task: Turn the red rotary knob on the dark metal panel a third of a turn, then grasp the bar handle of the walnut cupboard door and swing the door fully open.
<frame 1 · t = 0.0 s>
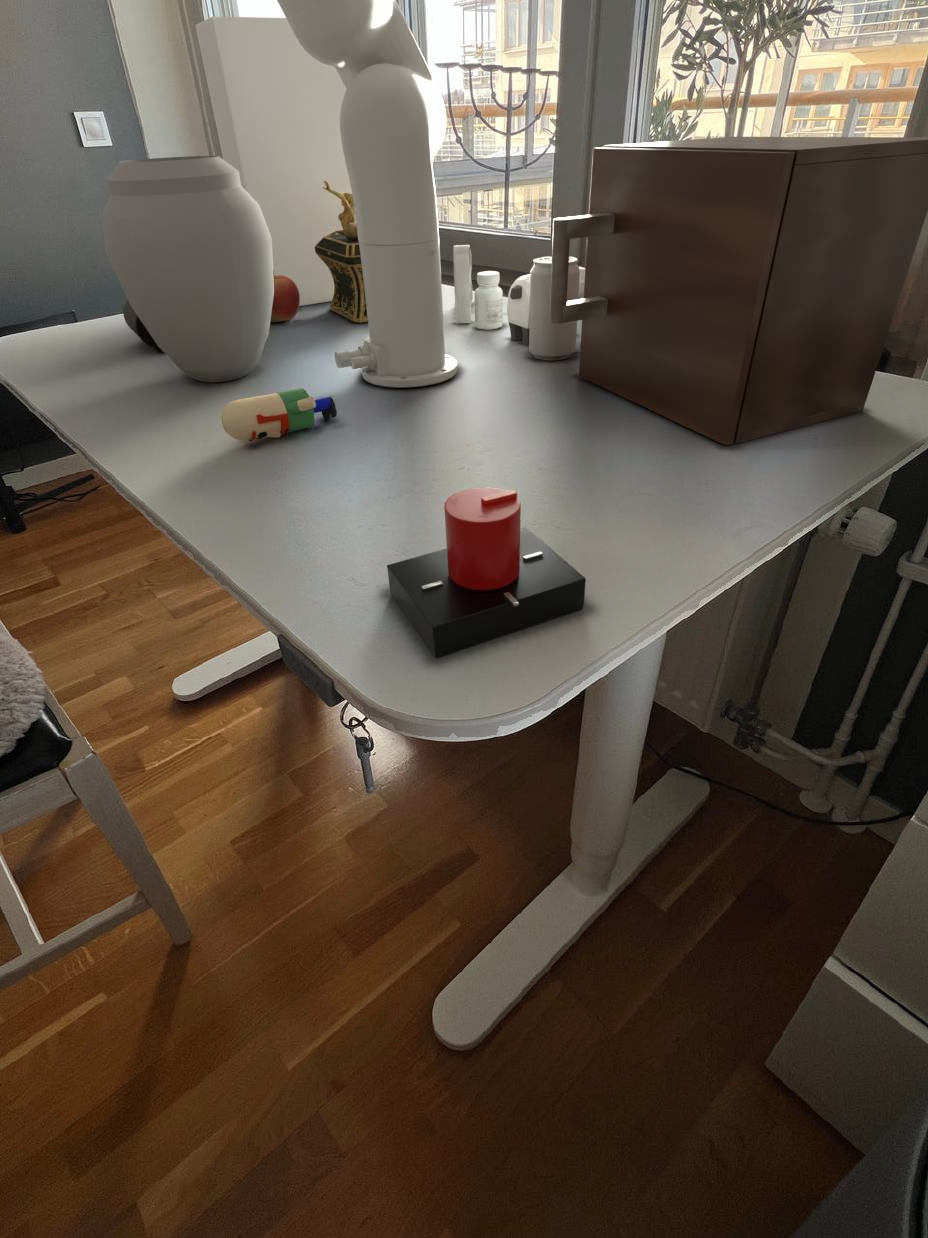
handheld gaming console: (464, 313, 115), on the table
toy figurine: (282, 434, 74), on the table
pill bottle: (489, 327, 107), on the table
decorative box: (367, 316, 116), on the table
cabinet: (713, 391, 79), on the table
end cap: (162, 346, 105), on the table
storage box: (313, 298, 130), on the table
giant panda: (548, 337, 101), on the table
valve panel: (484, 601, 47), on the table
apple: (280, 322, 116), on the table
cabinet door: (633, 295, 67), point 12 cm above the table, hinge at 0.0°
beverage can: (551, 356, 93), on the table
red rotary knob: (483, 536, 44), point 5 cm above the table, hinge at 0.0°
vase: (223, 375, 92), on the table
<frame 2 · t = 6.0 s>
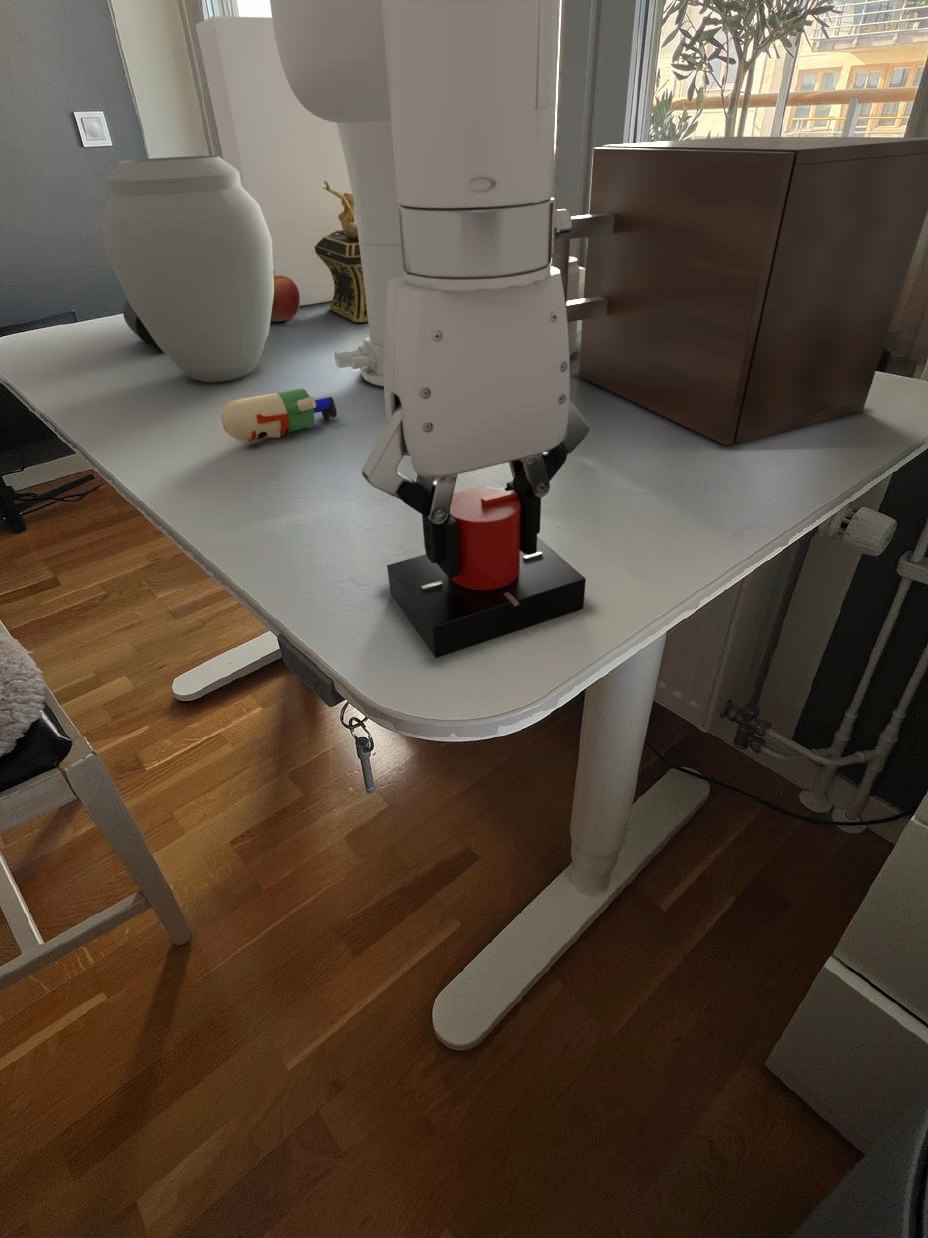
hand: (483, 553, 44), 4 cm above the table, tool pointing down, fingers closed on red rotary knob, 4 cm apart
red rotary knob: (483, 536, 44), point 5 cm above the table, hinge at -0.1°, touching gripper
everything else where it was.
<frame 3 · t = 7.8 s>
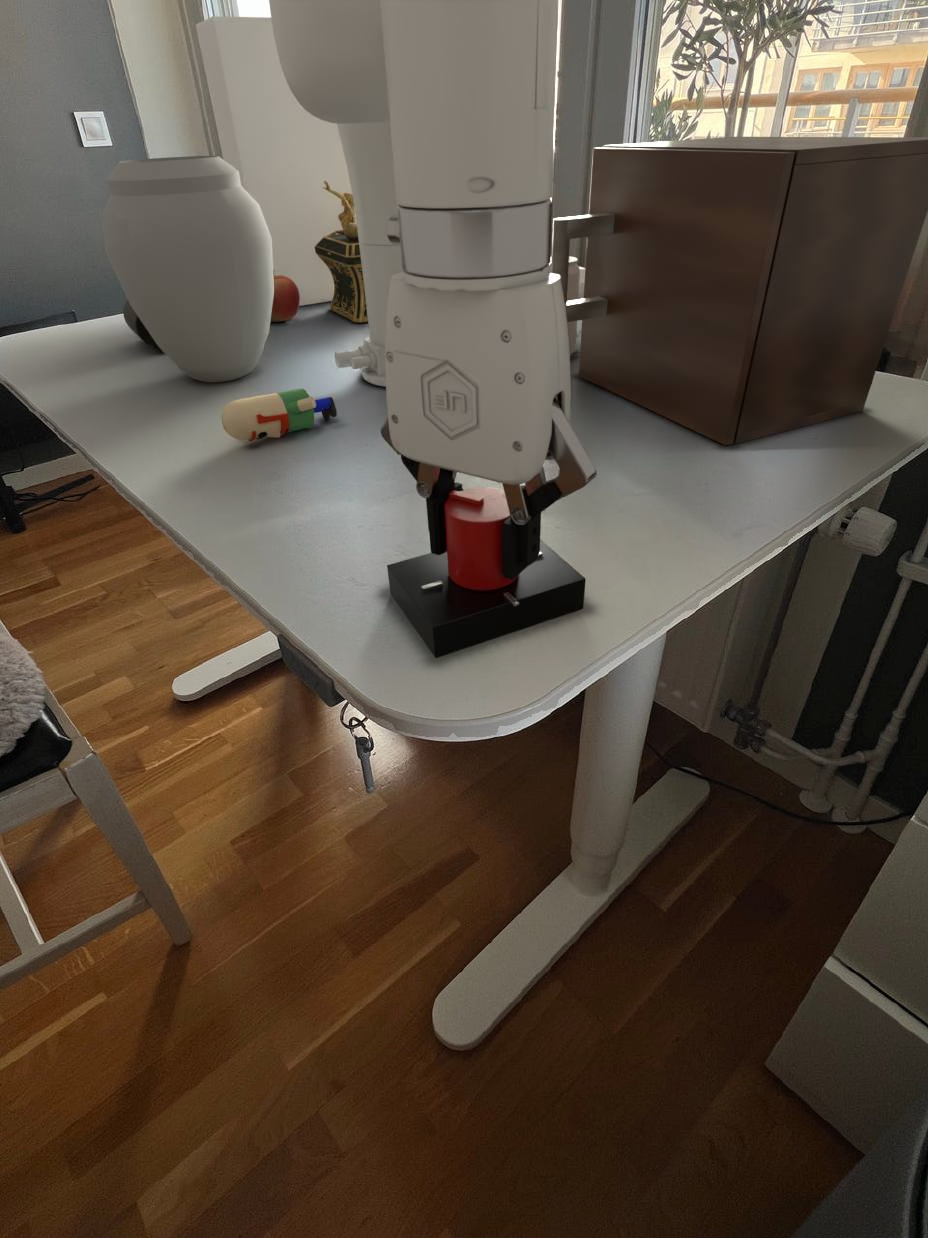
hand: (482, 554, 44), 4 cm above the table, tool pointing down, fingers closed on red rotary knob, 4 cm apart
red rotary knob: (483, 536, 44), point 5 cm above the table, hinge at 121.7°, touching gripper
everything else where it was.
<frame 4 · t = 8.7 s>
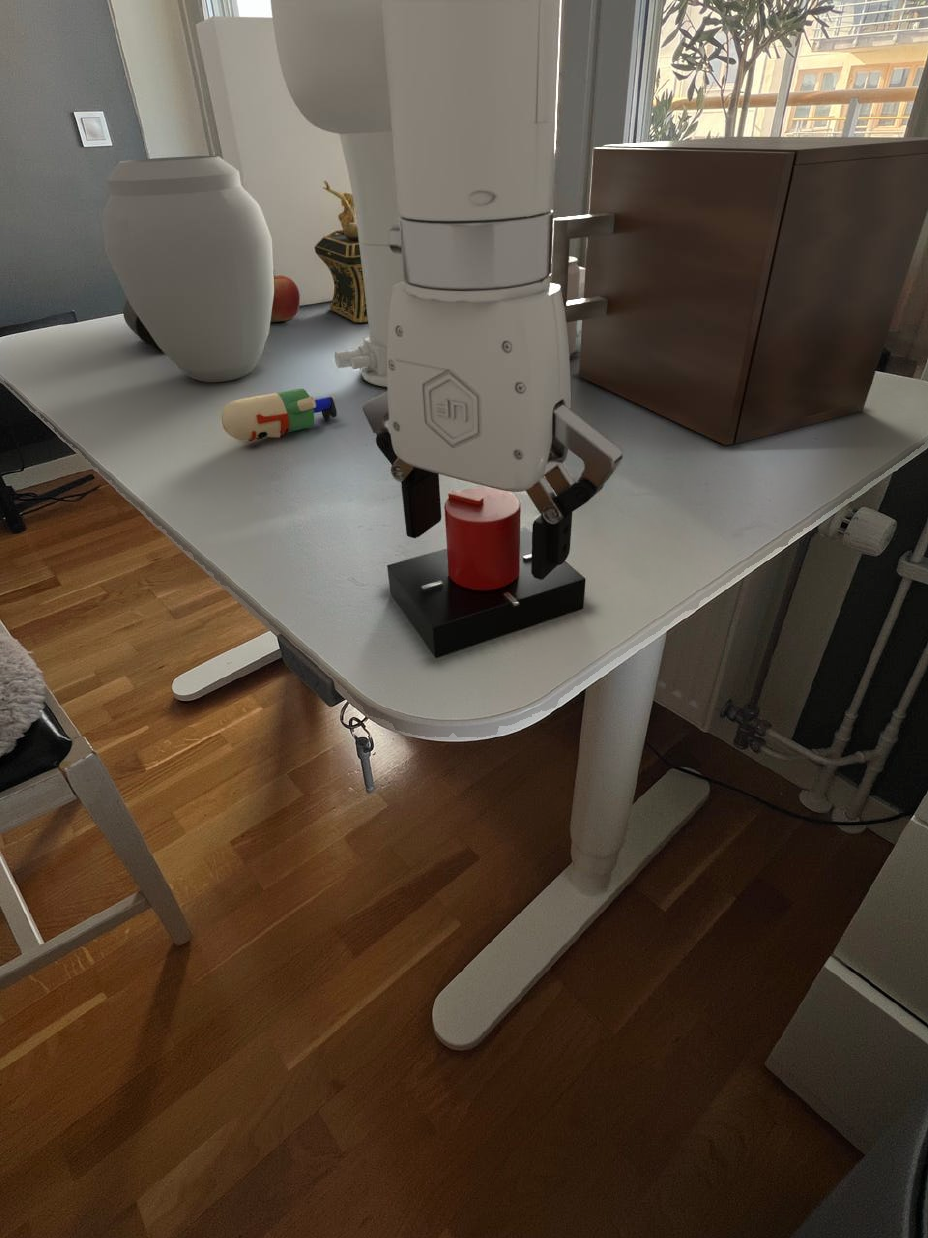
hand: (483, 547, 44), 4 cm above the table, tool pointing down, fingers open, 9 cm apart
red rotary knob: (483, 536, 44), point 5 cm above the table, hinge at 123.5°
everything else where it was.
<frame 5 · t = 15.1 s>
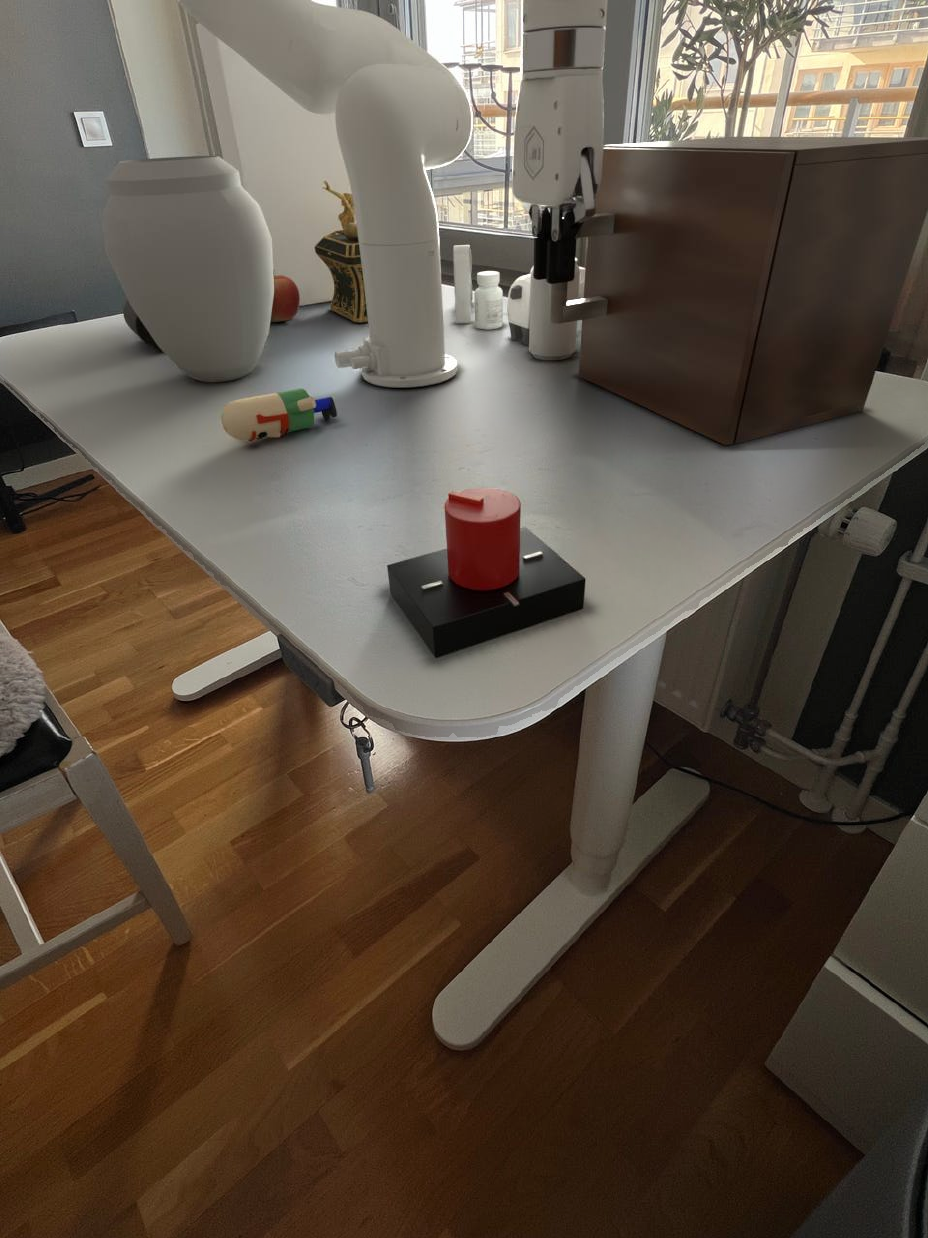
hand: (553, 278, 72), 13 cm above the table, tool pointing down, fingers closed on cabinet door, 2 cm apart
cabinet door: (633, 295, 67), point 12 cm above the table, hinge at 0.0°, touching gripper
everything else where it was.
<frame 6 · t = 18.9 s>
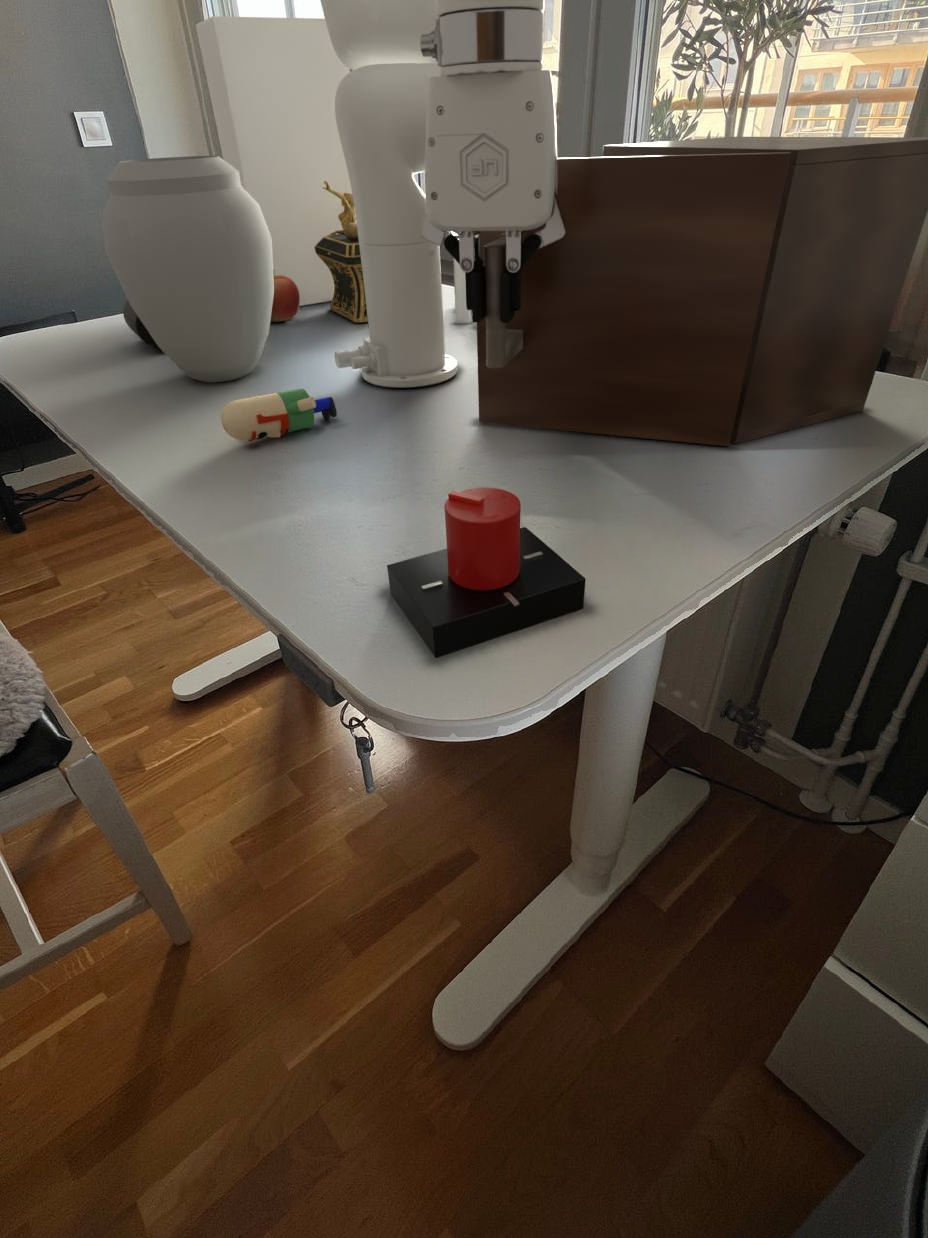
hand: (493, 317, 60), 13 cm above the table, tool pointing down, fingers closed on cabinet door, 2 cm apart
cabinet door: (601, 318, 60), point 12 cm above the table, hinge at 44.2°, touching gripper
everything else where it was.
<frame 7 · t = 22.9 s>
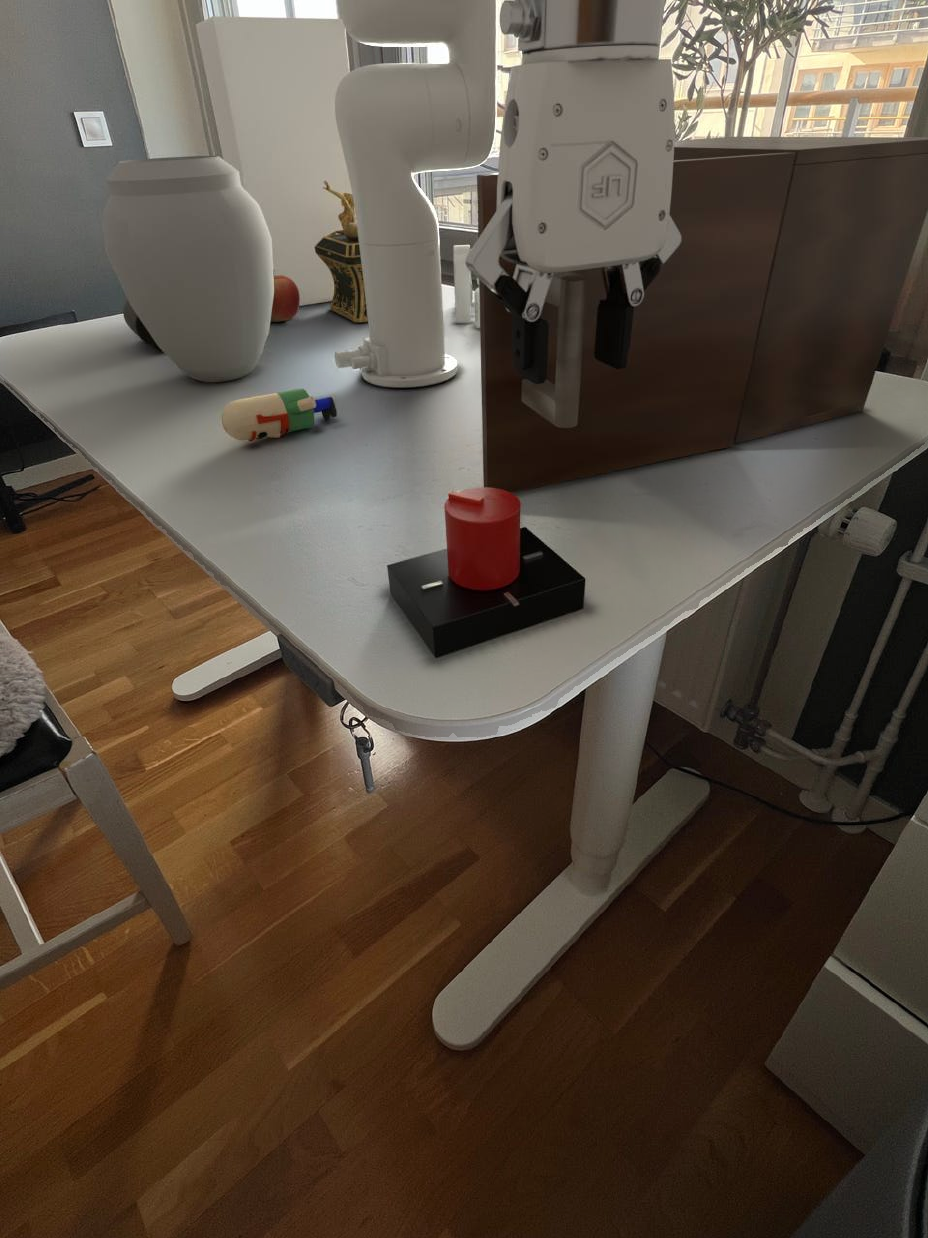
hand: (571, 368, 47), 13 cm above the table, tool pointing down, fingers open, 5 cm apart
cabinet door: (651, 345, 53), point 12 cm above the table, hinge at 85.2°
everything else where it was.
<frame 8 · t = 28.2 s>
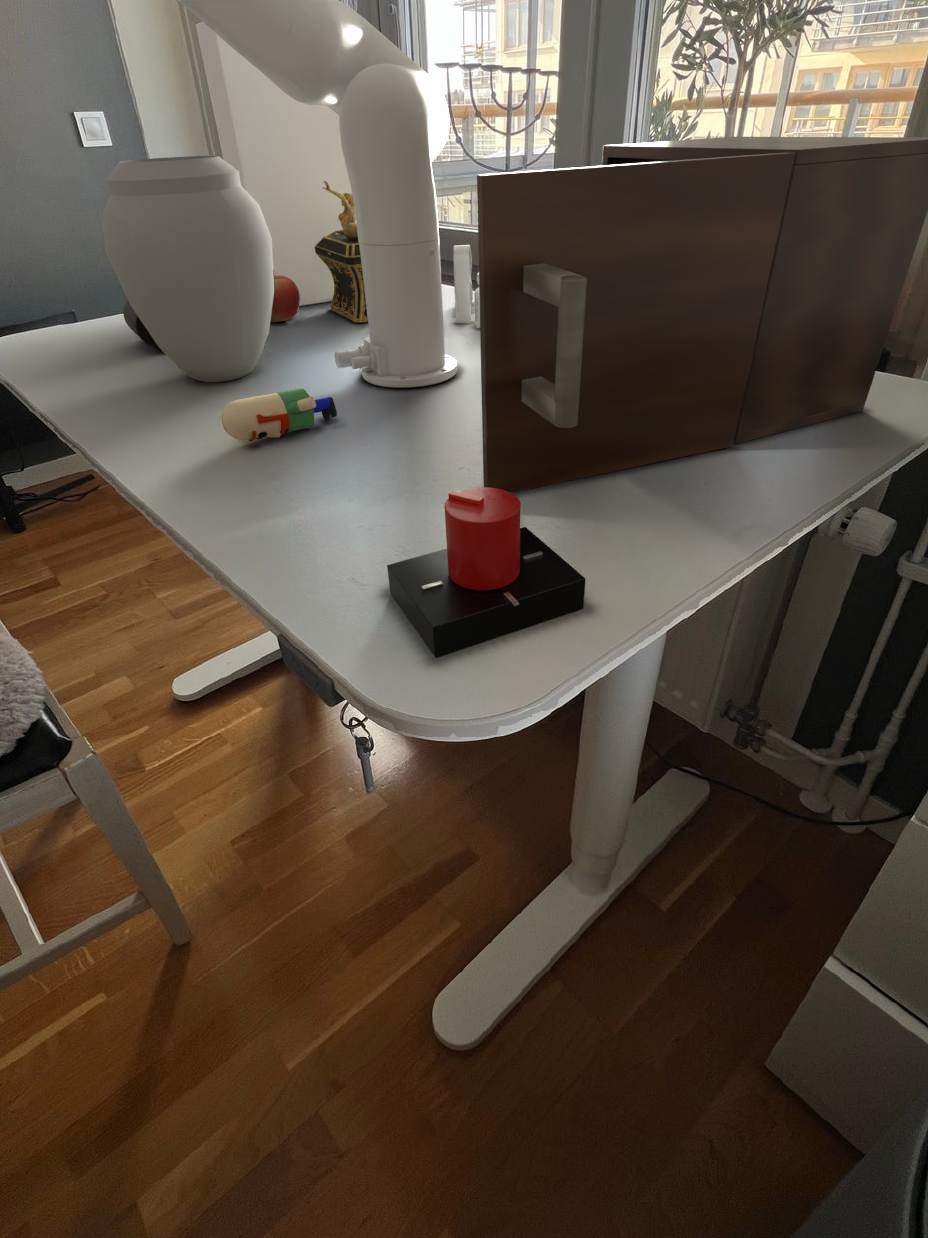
nothing on the table moved.
at the end: red rotary knob at +124° (first picture: +0°); cabinet door at +85° (first picture: +0°) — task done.
